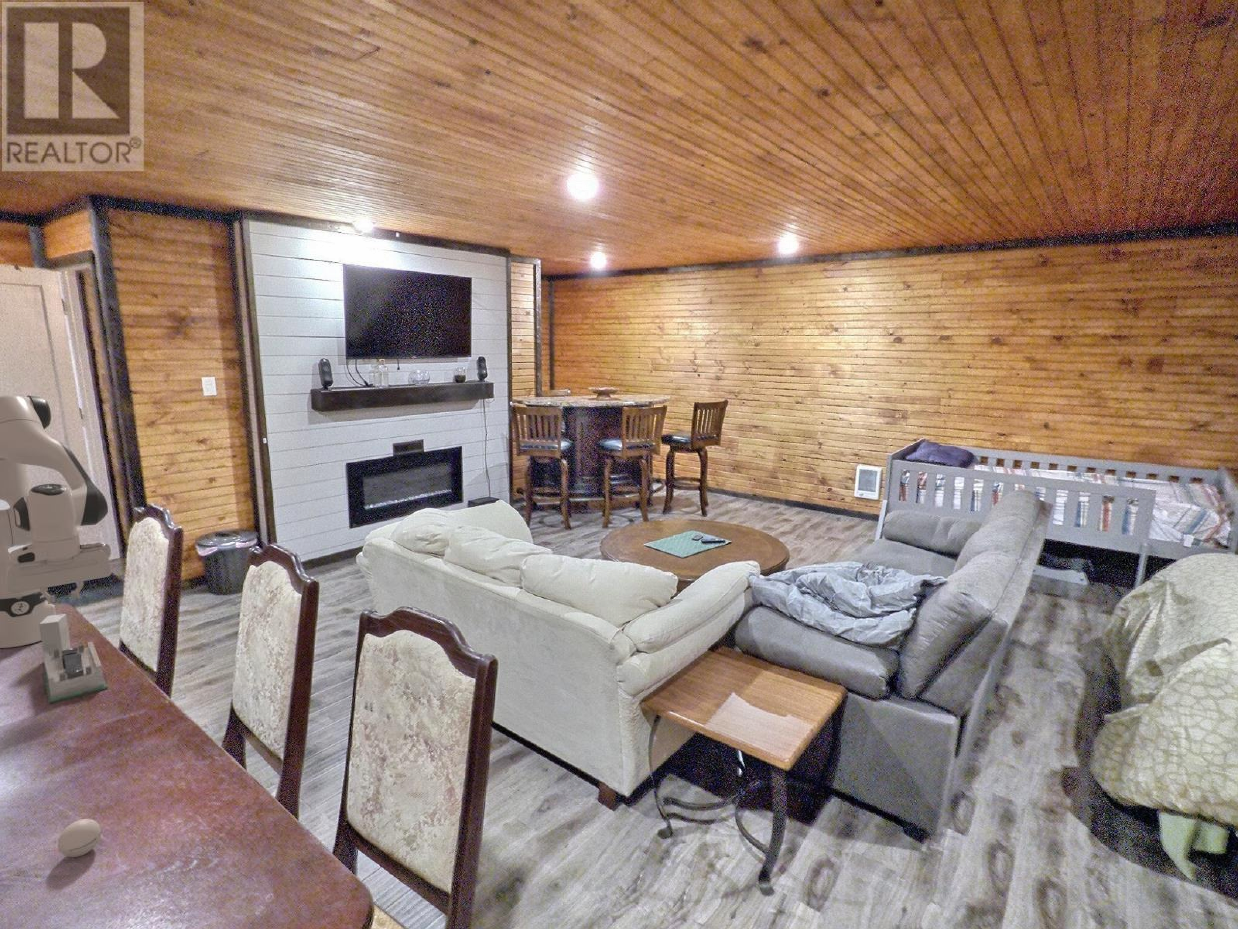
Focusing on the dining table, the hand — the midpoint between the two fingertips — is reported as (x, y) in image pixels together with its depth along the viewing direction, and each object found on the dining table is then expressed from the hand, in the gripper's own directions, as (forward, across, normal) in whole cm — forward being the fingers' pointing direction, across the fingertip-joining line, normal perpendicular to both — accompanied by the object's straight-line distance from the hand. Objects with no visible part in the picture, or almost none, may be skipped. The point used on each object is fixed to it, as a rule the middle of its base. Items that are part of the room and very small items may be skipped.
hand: (63, 600), depth 161 cm
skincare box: (+21, +2, -16) cm, 26 cm away
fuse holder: (+21, 0, +2) cm, 21 cm away
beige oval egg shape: (+21, +4, +78) cm, 80 cm away
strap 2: (+15, 0, +7) cm, 17 cm away
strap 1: (+15, 0, -2) cm, 15 cm away
